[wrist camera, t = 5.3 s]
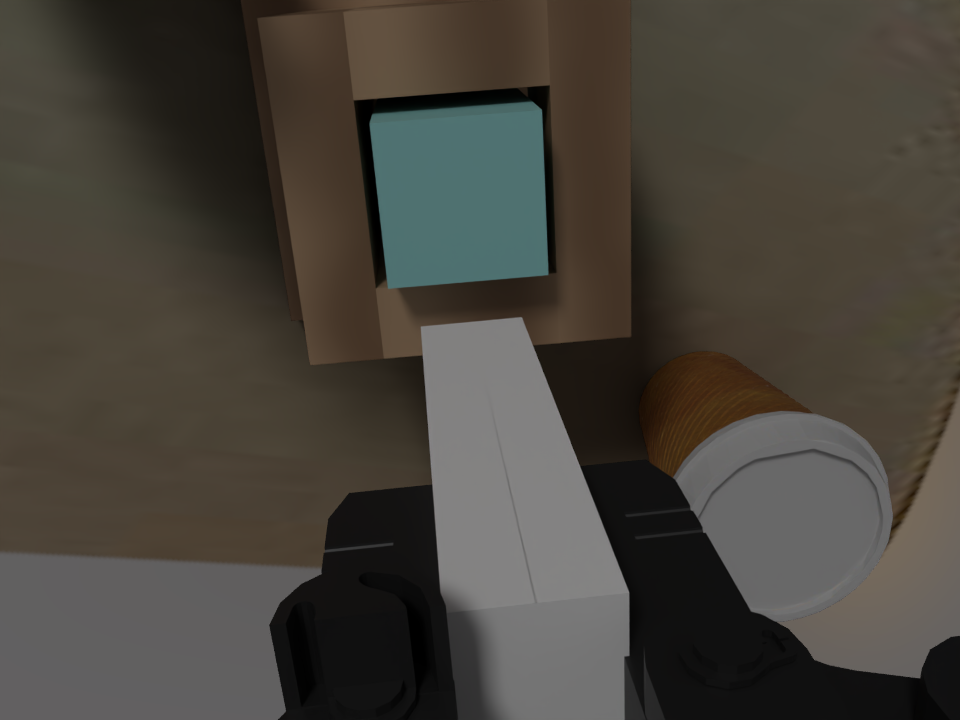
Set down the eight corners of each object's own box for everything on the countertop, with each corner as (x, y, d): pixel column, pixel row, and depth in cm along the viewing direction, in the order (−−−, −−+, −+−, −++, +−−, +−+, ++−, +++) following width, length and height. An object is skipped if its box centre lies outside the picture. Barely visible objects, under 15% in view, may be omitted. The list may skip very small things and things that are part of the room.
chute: (293, 313, 43) (248, 437, 31) (237, -50, 37) (152, -71, 25) (621, 285, 44) (700, 396, 32) (619, -77, 37) (716, -110, 25)
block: (394, 204, 39) (387, 288, 28) (382, 84, 37) (369, 123, 26) (509, 194, 39) (548, 274, 28) (502, 75, 37) (542, 109, 26)
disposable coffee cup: (819, 353, 46) (949, 468, 35) (736, 505, 49) (831, 654, 38) (653, 295, 44) (735, 397, 33) (579, 457, 47) (630, 599, 36)
